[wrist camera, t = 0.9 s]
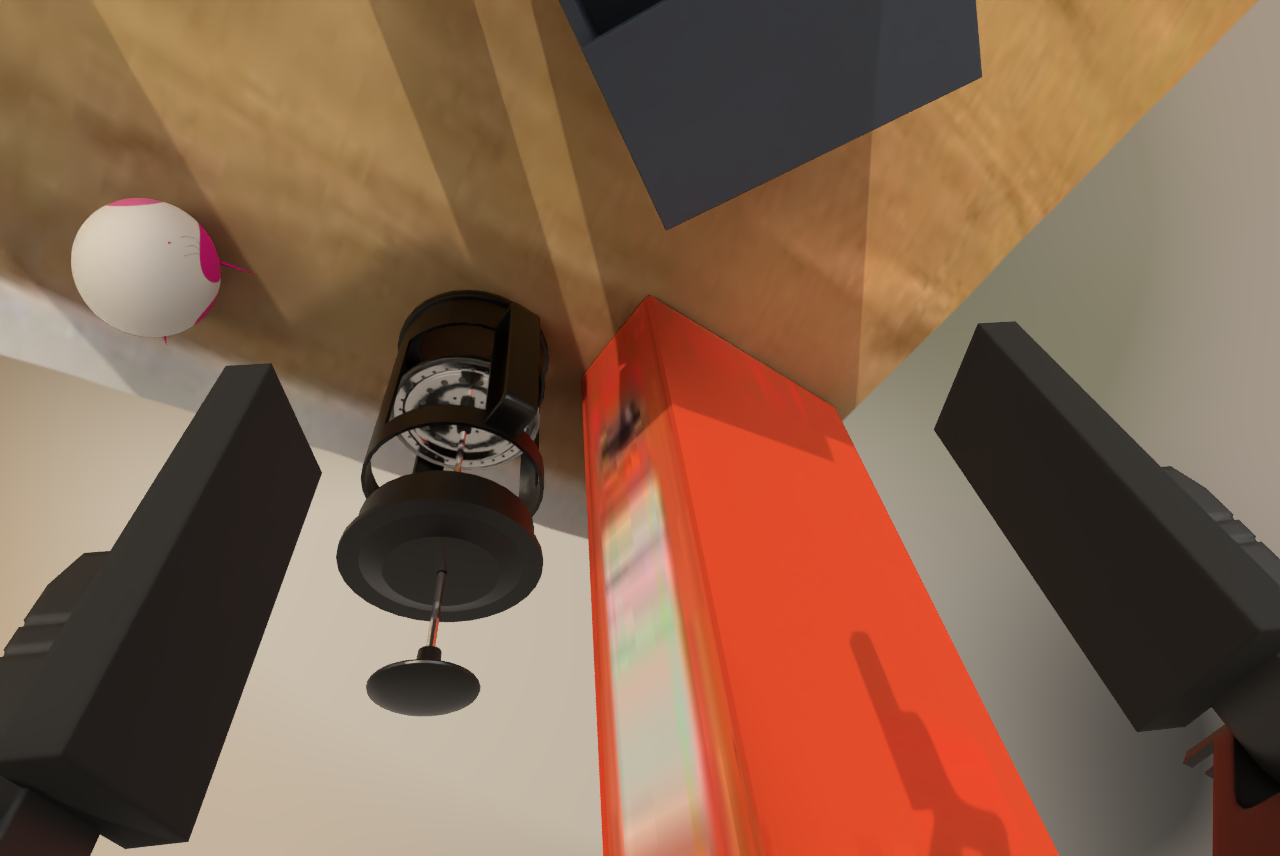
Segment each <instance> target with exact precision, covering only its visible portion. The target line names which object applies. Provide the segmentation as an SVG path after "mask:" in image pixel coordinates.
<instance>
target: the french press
mask: <svg viewBox="0 0 1280 856" xmlns="http://www.w3.org/2000/svg"><path fill="white" fill-rule="evenodd" d="M454 325H471V326H480V327H484V328H487V329H491V330H494V338H493V346H492V354H491V359H489V358H485V357H480V356H475V355H462V354H458V355H445V356H441V357H436V358H432V359H429V360H427V361H424V362H422V363H421V359H420V353H419V347H420V342H421V340H422V338H423V336H424V334H426V333H428V332H430V331H432V330H434V329H438V328H442V327H446V326H454ZM548 360H549V355H548V347H547V343H546V340H545V337H544V335H543V333H542V331H541V329H540V317H538V316H537V315H535V314H534V313H532V312H530V311H529V310H527V309H525V308H524V307H522V306H520V305H519V304H517V303H514V302H511V301H509V300H507V299H505V298H503V297H501V296H497V295H494V294H490V293H487V292H481V291H472V290H464V291H452V292H448V293H444V294H440V295H437V296H435V297H433V298H431V299H429V300H426V301H425V302H424V303H422V304H421V305H420V306H418V307H417V308H416V309H414V311H413V312H412V313H411V314H410V315H409V317H408V318H407V319H406V321H405V323H404V325H403V327H402V329H401V332H400V336H399V341H398V355H397V358H396V361H395V364H394V367H393V371H392V374H391V377H390V380H389V384H388V387H387V390H386V393H385V396H384V400H383V403H382V406H381V409H380V412H379V416H378V419H377V422H376V425H375V428H374V432H373V435H372V438H371V441H370V445H369V448H368V451H367V454H366V457H365V461H364V464H363V469H362V474H361V482H362V490H363V492H364V495H365V497H366V501H365V502H364V504H363V506H362V508H361V510H360V513H359V516H358V517H357V518H355V520H353V522H352V523H351V524H350V525H349V526H348V527H347V528H346V530H345V531H344V533H343V535H342V537H341V539H340V541H339V544H338V550H337V556H336V559H337V564H338V569H339V572H340V574H341V575H342V577H343V579H344V581H345V582H346V584H347V585H348V586H349V587H350V588H351V589H352V590H353V591H354V592H355V593H356V594H357V595H359V596H360V597H361V598H363V599H364V600H365V601H367V602H369V603H370V604H372V605H375V606H376V607H378V608H380V609H382V610H385V611H387V612H390V613H393V614H396V615H398V616H403V617H407V618H411V619H416V620H424V621H430V627H429V633H428V639H427V646H425V647H422V648H420V649H419V651H418V655H417V659H416V660H406V661H401V662H397V663H393V664H390V665H387V666H385V667H383V668H381V669H379V670H377V671H376V672H375V673H374V674H373V675H372V676H371V677H370V678H369V680H368V681H367V685H366V689H367V694H368V696H369V697H370V699H371V700H372V701H373V702H374V703H376V704H377V705H379V706H380V707H382V708H384V709H387V710H390V711H392V712H395V713H399V714H404V715H410V716H436V715H443V714H448V713H451V712H454V711H457V710H460V709H462V708H464V707H466V706H468V705H469V704H471V703H472V702H473V701H474V700H475V699H476V698H477V696H478V694H479V692H480V684H479V681H478V679H477V678H476V676H475V675H474V674H473V673H471V672H470V671H469V670H467V669H465V668H463V667H461V666H459V665H456V664H453V663H450V662H445V661H441V650H440V649H439V648H437V647H435V643H436V637H437V630H438V623H439V622H458V621H469V620H474V619H479V618H484V617H488V616H491V615H494V614H497V613H500V612H503V611H505V610H507V609H509V608H511V607H512V606H514V605H516V604H518V603H519V602H520V601H522V600H523V599H524V598H525V597H527V596H528V595H529V594H530V593H531V591H532V590H533V589H534V588H535V587H536V585H537V583H538V581H539V579H540V577H541V574H542V567H543V556H542V550H541V546H540V544H539V542H538V540H537V538H536V536H535V535H534V526H533V520H532V516H533V515H534V514H535V513H536V511H537V510H538V508H539V506H540V503H541V501H542V498H543V490H544V466H543V460H542V456H541V454H540V452H539V422H540V405H541V403H542V400H543V397H544V389H545V375H546V373H547V369H548ZM389 420H390V421H389ZM395 436H398V438H399V439H400V440H401V441H402V442H403V443H404V444H405V446H406V447H407V448H408V449H410V450H411V451H413V452H414V453H415V454H417V456H416V460H415V465H414V469H413V473H412V474H409V475H405V476H401V477H399V478H397V479H395V480H392V481H389V482H387V483H386V484H384V485H382V486H381V487H379V486H378V485H377V483H376V481H375V479H374V476H373V474H372V470H371V461H370V460H371V458H372V456H373V454H374V453H375V452H376V451H377V450H378V449H379V448H380V447H381V446H382V445H383V444H384V443H386V442H387V441H389V440H390V439H392V438H393V437H395ZM520 455H521V468H520V488H519V498H518V497H517V496H516V495H514V494H513V493H512V492H511V491H509V490H508V489H507V488H505V487H503V486H501V485H499V484H497V483H495V482H493V481H491V480H488V479H485V478H483V477H480V476H477V475H472V474H467V473H462V472H461V470H480V469H488V468H492V467H497V466H500V465H502V464H505V463H507V462H510V461H512V460H513V459H515V458H516V457H518V456H520ZM444 467H448V468H453V469H454V471H443V469H444ZM538 476H539V483H538Z"/></svg>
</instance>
